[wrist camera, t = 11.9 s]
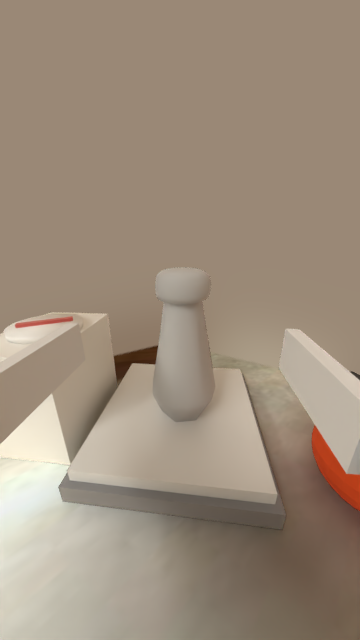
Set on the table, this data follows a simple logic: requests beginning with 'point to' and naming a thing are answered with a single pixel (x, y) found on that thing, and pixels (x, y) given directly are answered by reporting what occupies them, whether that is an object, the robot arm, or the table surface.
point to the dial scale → (144, 437)
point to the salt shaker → (183, 345)
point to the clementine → (335, 471)
